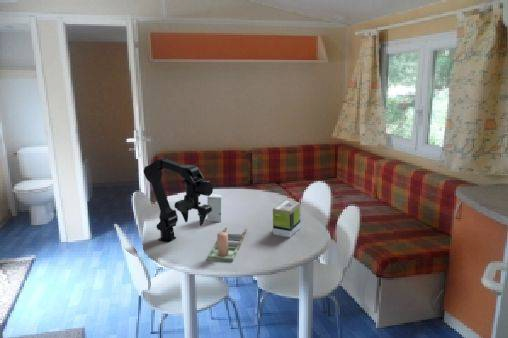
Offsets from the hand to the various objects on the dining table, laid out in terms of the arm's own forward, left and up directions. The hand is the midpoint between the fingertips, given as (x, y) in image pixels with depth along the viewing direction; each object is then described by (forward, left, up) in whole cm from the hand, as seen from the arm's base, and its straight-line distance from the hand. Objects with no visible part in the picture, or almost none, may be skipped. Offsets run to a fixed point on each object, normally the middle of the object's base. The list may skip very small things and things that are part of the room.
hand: (193, 223), depth 183 cm
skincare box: (-13, +34, -12) cm, 38 cm away
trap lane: (+12, +11, -12) cm, 21 cm away
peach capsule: (+17, 0, -12) cm, 21 cm away
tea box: (+30, +40, -12) cm, 51 cm away
